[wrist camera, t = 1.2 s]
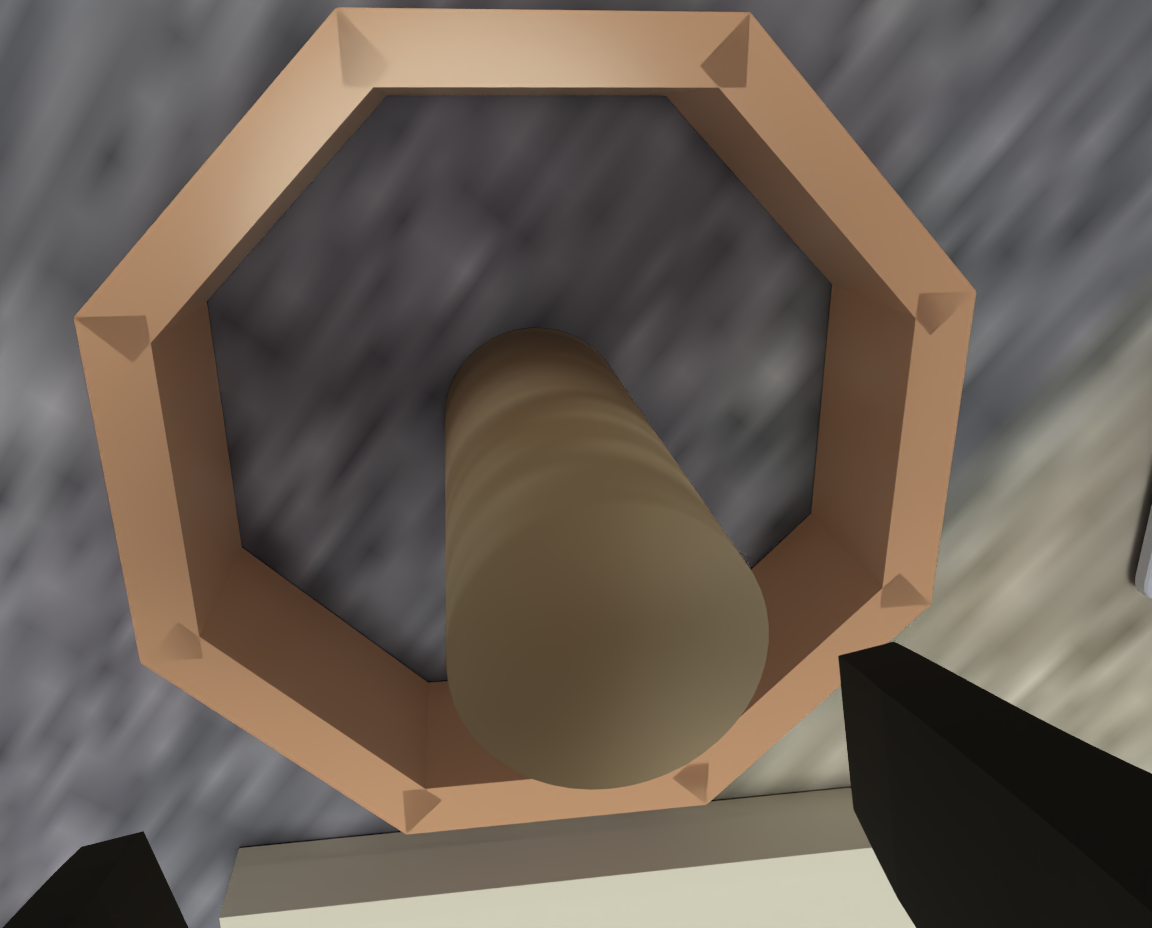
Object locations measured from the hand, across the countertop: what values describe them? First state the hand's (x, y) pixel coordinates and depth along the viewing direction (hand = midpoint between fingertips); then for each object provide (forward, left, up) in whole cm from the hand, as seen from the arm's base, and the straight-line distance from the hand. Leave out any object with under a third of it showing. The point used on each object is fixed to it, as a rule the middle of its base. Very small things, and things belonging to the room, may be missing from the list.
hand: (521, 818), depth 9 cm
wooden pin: (-1, -1, -10) cm, 10 cm away
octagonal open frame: (-1, -1, -10) cm, 10 cm away
